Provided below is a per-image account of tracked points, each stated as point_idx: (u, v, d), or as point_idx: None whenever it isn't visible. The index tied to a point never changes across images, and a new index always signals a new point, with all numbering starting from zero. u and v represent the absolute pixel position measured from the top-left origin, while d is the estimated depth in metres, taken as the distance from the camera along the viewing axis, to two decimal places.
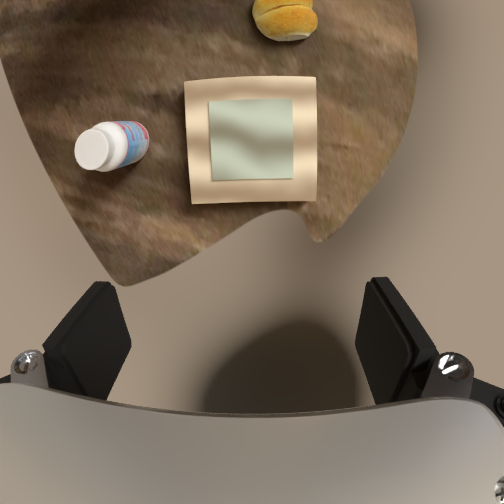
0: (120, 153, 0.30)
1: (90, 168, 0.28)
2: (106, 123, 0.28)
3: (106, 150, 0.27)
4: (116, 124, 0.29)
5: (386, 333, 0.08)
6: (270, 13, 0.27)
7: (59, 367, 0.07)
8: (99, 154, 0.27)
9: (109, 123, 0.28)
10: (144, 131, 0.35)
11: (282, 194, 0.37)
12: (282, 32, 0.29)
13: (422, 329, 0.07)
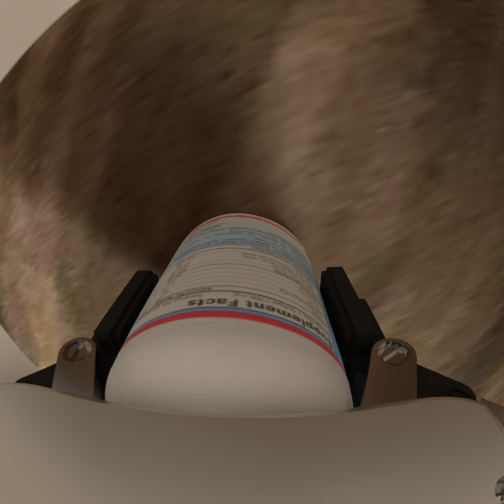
0: None
1: None
2: None
3: None
4: None
5: (333, 319, 0.09)
6: None
7: (110, 354, 0.07)
8: None
9: None
10: None
11: None
12: None
13: (365, 315, 0.07)
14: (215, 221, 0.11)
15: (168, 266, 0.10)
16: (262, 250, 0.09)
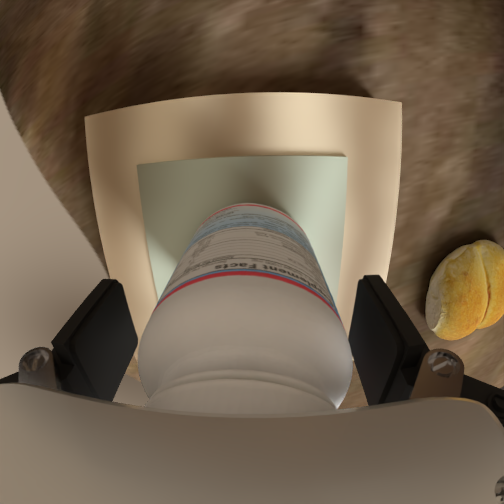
0: None
1: None
2: (340, 402, 0.07)
3: None
4: None
5: (377, 330, 0.08)
6: (484, 281, 0.16)
7: (68, 364, 0.07)
8: None
9: None
10: None
11: (131, 311, 0.17)
12: (449, 299, 0.17)
13: (412, 326, 0.07)
14: (228, 209, 0.13)
15: (188, 246, 0.11)
16: (271, 230, 0.10)
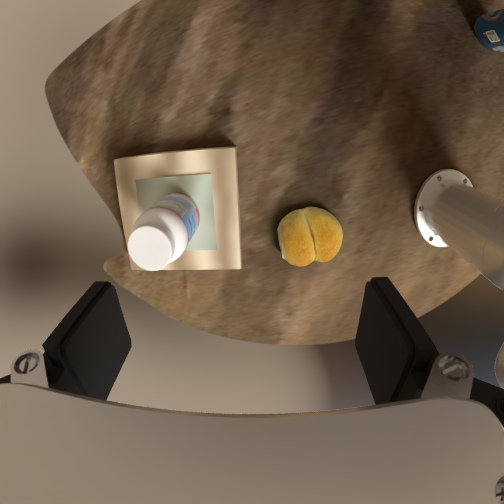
0: None
1: (129, 247, 0.27)
2: (183, 245, 0.30)
3: (148, 269, 0.28)
4: (183, 251, 0.31)
5: (386, 333, 0.08)
6: (305, 228, 0.38)
7: (59, 367, 0.07)
8: (144, 260, 0.27)
9: (183, 247, 0.30)
10: None
11: None
12: (283, 237, 0.39)
13: (422, 329, 0.07)
14: (166, 195, 0.35)
15: None
16: (173, 200, 0.32)
